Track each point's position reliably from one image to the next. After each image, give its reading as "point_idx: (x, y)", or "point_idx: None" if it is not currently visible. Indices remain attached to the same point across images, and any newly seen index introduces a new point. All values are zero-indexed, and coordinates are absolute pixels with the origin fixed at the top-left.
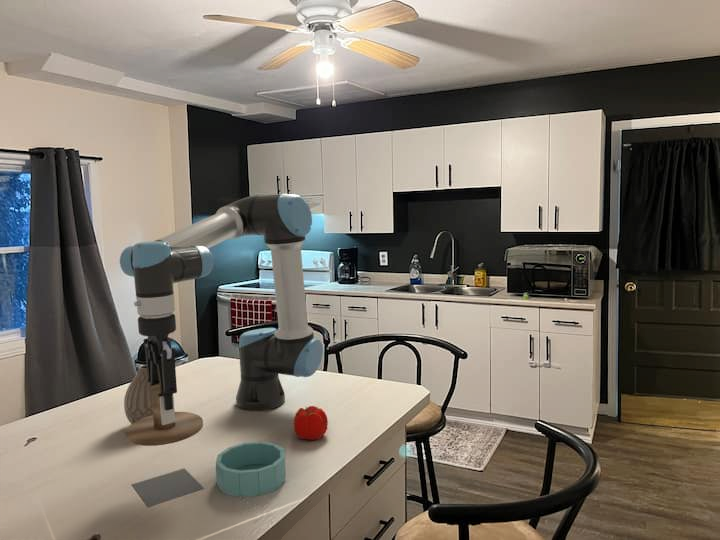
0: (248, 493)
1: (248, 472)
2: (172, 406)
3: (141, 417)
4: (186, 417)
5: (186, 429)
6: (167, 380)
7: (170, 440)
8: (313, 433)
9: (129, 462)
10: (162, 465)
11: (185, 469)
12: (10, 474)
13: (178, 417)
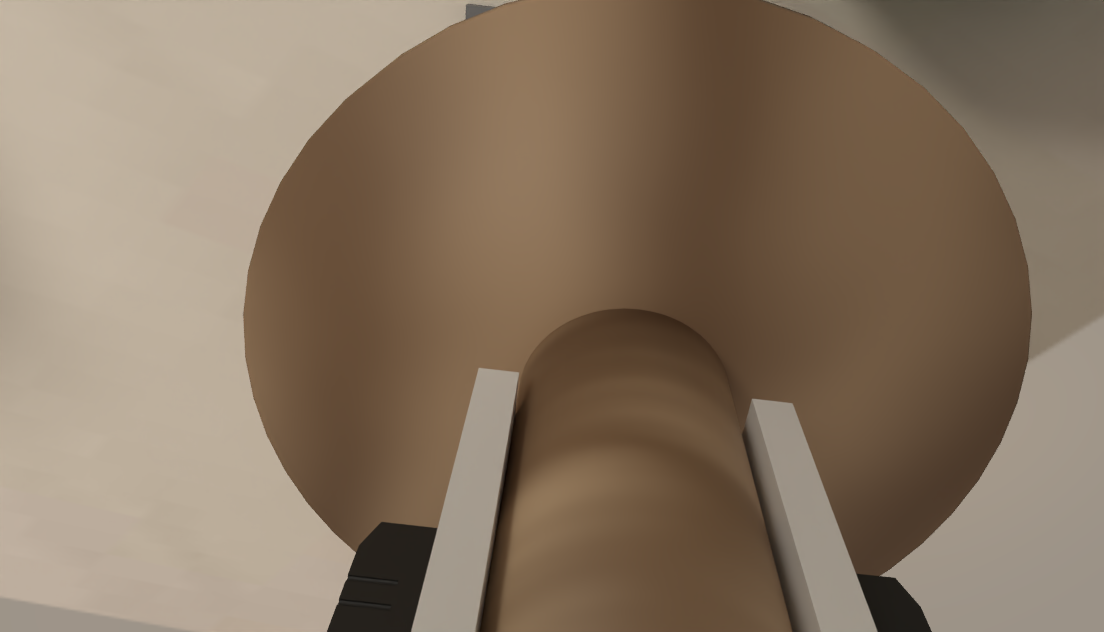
0: None
1: None
2: (922, 619)
3: None
4: (584, 144)
5: (904, 302)
6: None
7: (965, 488)
8: None
9: (147, 211)
10: (307, 83)
11: (488, 8)
12: (7, 588)
13: (506, 208)
